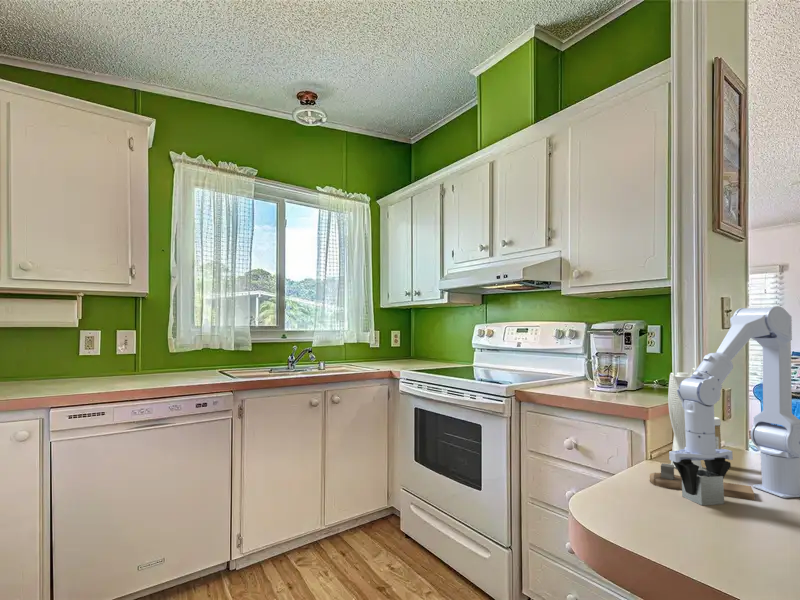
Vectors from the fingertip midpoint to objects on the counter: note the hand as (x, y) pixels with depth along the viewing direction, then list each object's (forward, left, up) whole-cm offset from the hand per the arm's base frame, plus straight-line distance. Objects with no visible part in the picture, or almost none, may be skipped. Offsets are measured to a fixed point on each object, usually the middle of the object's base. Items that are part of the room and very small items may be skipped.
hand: (702, 492), depth 104 cm
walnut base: (-6, -7, -2) cm, 9 cm away
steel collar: (0, 0, -2) cm, 2 cm away
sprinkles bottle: (-25, -24, -2) cm, 34 cm away
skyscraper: (-15, -22, -2) cm, 26 cm away
